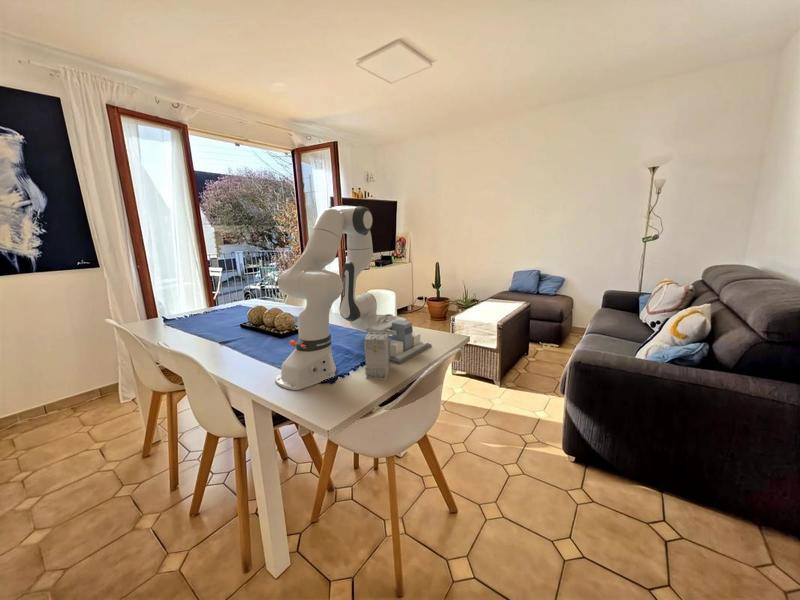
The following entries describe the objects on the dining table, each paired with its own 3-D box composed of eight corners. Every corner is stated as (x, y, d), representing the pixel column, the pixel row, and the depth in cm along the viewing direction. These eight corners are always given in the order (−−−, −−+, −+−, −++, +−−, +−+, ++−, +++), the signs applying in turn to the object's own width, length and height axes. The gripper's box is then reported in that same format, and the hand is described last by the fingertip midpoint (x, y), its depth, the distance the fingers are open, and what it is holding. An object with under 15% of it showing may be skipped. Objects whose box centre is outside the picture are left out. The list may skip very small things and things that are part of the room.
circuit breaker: (391, 363, 132) (390, 327, 128) (386, 379, 118) (385, 339, 114) (372, 362, 132) (371, 326, 129) (365, 378, 119) (364, 339, 115)
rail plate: (399, 364, 130) (399, 349, 129) (373, 356, 139) (372, 342, 137) (431, 346, 149) (431, 333, 148) (406, 340, 157) (406, 328, 156)
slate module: (406, 352, 140) (405, 325, 137) (392, 348, 144) (391, 322, 141) (412, 348, 143) (412, 322, 141) (399, 345, 148) (398, 319, 145)
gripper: (363, 323, 141) (388, 329, 133) (392, 313, 157) (416, 317, 149) (363, 337, 142) (388, 344, 134) (392, 325, 158) (416, 331, 150)
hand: (403, 330), depth 141 cm, fingers open, 8 cm apart
